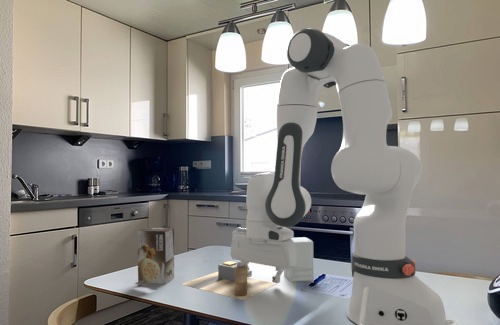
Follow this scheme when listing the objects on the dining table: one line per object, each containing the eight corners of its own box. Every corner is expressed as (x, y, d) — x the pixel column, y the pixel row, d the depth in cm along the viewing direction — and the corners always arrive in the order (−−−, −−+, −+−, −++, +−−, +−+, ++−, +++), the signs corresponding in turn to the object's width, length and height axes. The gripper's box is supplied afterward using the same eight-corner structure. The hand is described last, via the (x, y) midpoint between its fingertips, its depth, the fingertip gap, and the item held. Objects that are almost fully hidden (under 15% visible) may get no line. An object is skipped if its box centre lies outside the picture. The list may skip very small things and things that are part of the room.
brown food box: (175, 281, 112) (175, 227, 112) (166, 288, 105) (166, 231, 106) (147, 279, 114) (147, 226, 114) (136, 286, 107) (136, 230, 108)
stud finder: (247, 278, 111) (247, 263, 111) (237, 282, 107) (237, 266, 107) (228, 274, 115) (228, 259, 115) (218, 278, 111) (218, 263, 111)
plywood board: (276, 287, 105) (276, 283, 106) (243, 304, 92) (243, 299, 92) (217, 275, 118) (217, 271, 118) (180, 288, 105) (180, 284, 105)
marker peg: (249, 293, 97) (249, 262, 97) (242, 297, 94) (242, 264, 95) (239, 291, 99) (239, 260, 99) (232, 294, 96) (232, 262, 96)
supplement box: (306, 277, 116) (306, 236, 116) (314, 284, 109) (313, 241, 109) (283, 278, 115) (283, 237, 115) (289, 286, 107) (289, 241, 108)
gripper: (225, 228, 108) (225, 276, 108) (287, 235, 97) (287, 289, 96) (238, 225, 114) (238, 271, 113) (299, 232, 102) (299, 283, 102)
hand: (261, 279), depth 105 cm, fingers open, 8 cm apart
